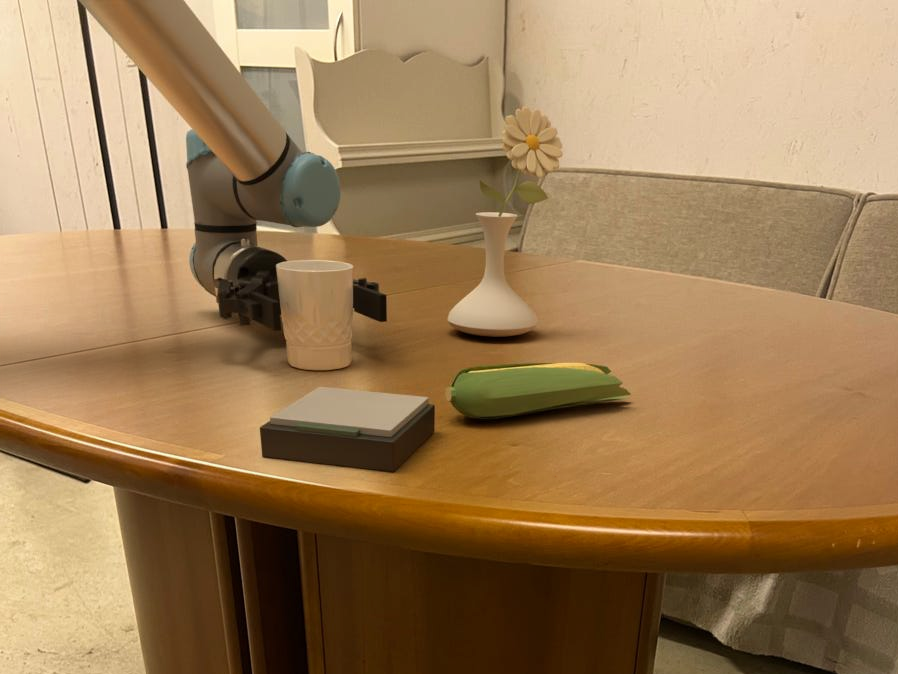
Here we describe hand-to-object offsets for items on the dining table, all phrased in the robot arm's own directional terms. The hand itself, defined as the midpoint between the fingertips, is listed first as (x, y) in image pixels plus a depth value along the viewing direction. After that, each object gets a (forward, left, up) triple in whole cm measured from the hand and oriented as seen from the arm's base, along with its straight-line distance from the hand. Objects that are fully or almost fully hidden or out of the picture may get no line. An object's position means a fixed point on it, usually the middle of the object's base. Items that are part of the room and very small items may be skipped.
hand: (331, 312), depth 94 cm
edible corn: (+9, -23, -6) cm, 26 cm away
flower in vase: (+27, +7, -6) cm, 29 cm away
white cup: (0, +4, -6) cm, 7 cm away
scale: (-11, -22, -6) cm, 25 cm away
